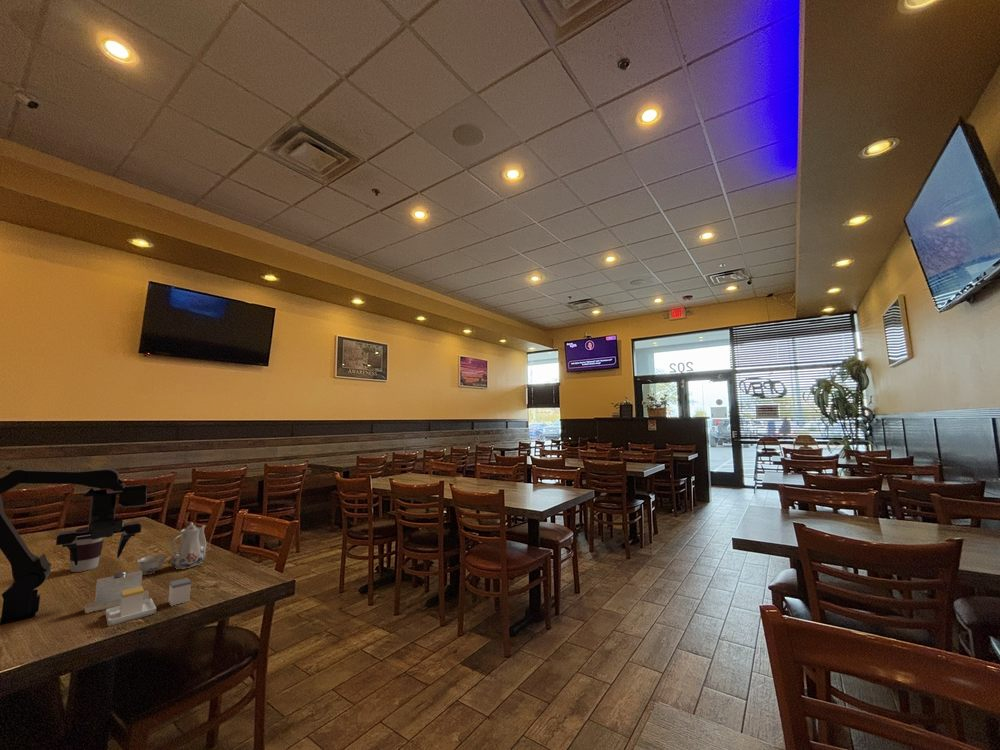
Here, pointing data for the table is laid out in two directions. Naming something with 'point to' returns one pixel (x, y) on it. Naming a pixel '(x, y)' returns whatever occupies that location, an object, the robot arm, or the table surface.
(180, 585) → the grey cartridge
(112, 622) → the tray
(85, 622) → the table surface
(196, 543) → the chinaware
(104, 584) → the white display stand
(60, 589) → the table surface
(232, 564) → the table surface
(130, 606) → the amber cartridge
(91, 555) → the coffee cup
